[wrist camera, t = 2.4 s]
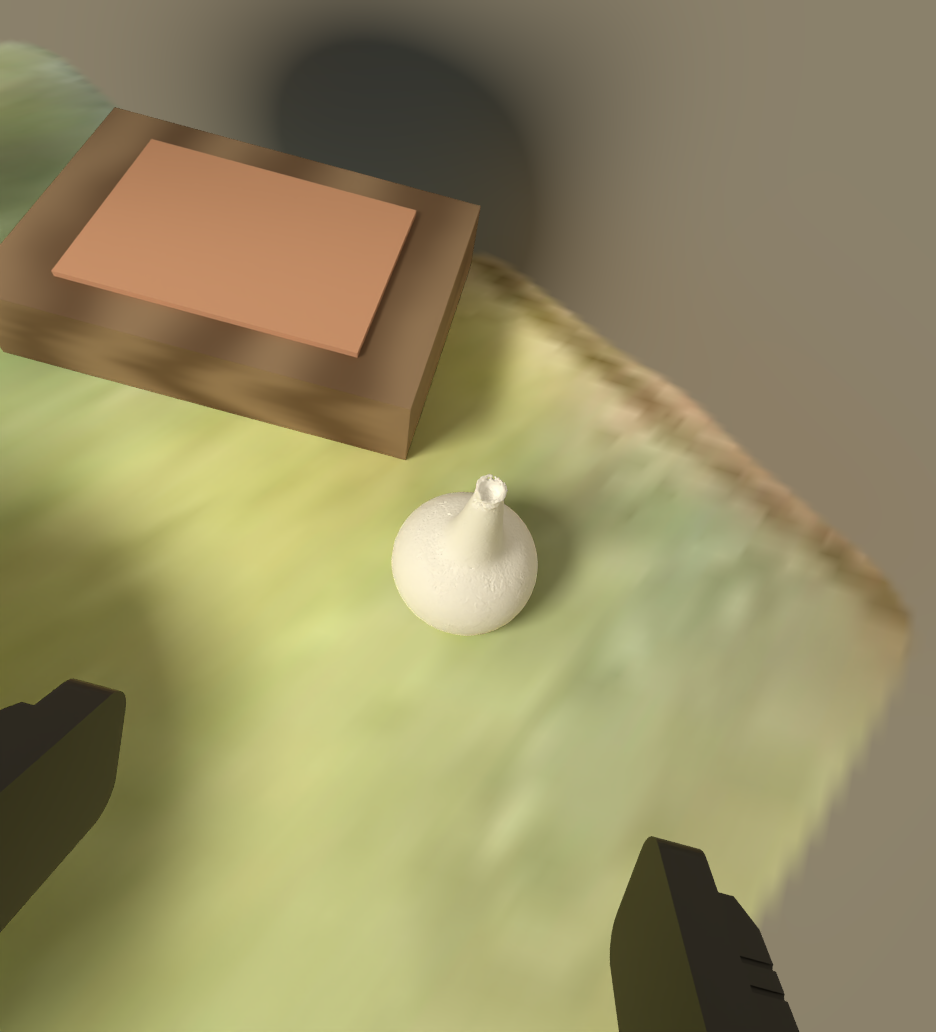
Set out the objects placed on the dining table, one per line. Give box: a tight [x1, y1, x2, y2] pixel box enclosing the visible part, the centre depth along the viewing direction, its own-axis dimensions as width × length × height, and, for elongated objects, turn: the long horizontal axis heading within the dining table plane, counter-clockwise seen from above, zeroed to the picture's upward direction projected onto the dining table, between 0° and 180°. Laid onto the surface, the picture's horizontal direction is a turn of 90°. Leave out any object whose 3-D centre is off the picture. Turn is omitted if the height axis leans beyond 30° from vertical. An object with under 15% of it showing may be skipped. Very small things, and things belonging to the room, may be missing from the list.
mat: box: [51, 139, 416, 358], centre depth 34 cm, size 14×10×1 cm
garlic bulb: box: [392, 474, 538, 636], centre depth 29 cm, size 6×6×8 cm
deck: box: [0, 107, 481, 460], centre depth 36 cm, size 20×14×4 cm
